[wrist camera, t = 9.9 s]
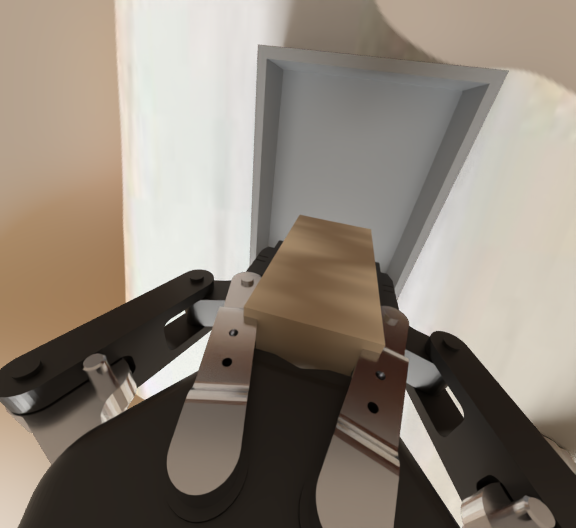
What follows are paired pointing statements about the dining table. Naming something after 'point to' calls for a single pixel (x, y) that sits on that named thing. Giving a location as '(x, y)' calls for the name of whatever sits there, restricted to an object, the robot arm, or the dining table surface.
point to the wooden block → (319, 297)
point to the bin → (362, 145)
